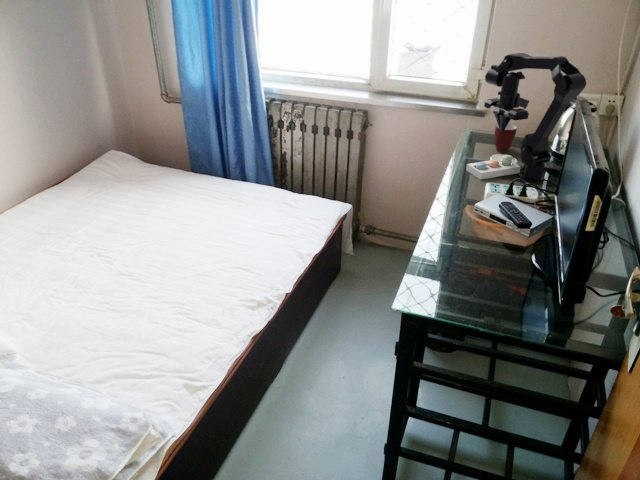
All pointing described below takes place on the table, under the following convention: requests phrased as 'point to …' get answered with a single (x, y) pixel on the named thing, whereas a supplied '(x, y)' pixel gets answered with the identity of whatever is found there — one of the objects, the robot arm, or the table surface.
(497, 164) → the terracotta button
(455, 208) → the table surface
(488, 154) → the table surface
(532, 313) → the table surface
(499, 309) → the table surface
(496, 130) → the mug
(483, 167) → the slate button
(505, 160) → the sage button
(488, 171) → the panel
